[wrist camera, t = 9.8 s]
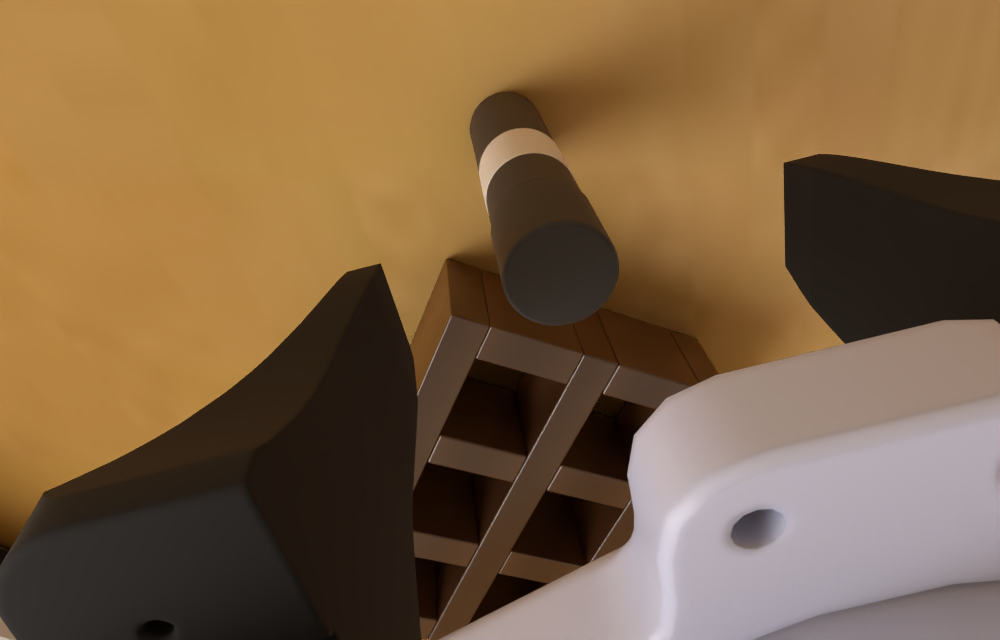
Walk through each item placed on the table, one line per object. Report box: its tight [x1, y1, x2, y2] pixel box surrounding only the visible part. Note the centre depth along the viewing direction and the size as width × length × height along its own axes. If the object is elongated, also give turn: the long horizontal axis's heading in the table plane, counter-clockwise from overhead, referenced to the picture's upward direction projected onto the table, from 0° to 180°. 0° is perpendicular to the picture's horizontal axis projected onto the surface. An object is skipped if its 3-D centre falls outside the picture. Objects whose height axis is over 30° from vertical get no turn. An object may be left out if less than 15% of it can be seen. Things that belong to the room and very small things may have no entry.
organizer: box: [410, 259, 718, 640], centre depth 26 cm, size 10×14×4 cm
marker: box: [470, 92, 619, 326], centre depth 17 cm, size 2×2×10 cm
